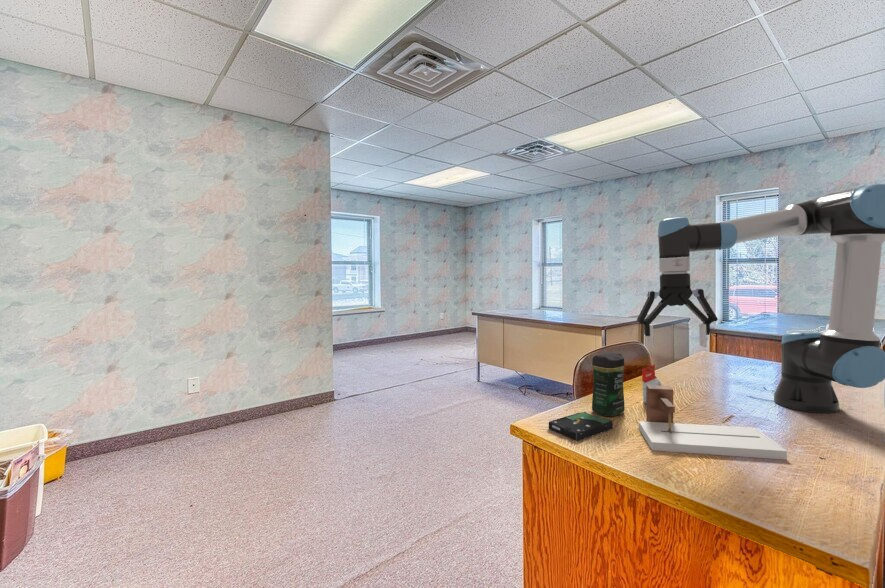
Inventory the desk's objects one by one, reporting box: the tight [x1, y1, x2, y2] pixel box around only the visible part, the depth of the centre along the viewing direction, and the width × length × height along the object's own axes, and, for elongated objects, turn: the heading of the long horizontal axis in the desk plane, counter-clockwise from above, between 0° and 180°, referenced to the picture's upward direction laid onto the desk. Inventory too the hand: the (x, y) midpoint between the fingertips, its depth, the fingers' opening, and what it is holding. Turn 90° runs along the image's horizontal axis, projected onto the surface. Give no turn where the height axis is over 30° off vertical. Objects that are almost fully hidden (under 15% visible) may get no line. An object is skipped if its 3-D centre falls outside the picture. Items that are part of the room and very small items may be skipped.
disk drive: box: [548, 411, 614, 442], centre depth 112 cm, size 10×3×15 cm
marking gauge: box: [645, 385, 676, 431], centre depth 109 cm, size 6×14×11 cm, turn 166°
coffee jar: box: [591, 351, 626, 417], centre depth 124 cm, size 10×8×19 cm
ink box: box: [641, 364, 663, 404], centre depth 134 cm, size 3×9×12 cm, turn 128°
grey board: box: [638, 420, 788, 461], centre depth 101 cm, size 28×14×2 cm, turn 76°
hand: (676, 346), depth 115 cm, fingers open, 13 cm apart
